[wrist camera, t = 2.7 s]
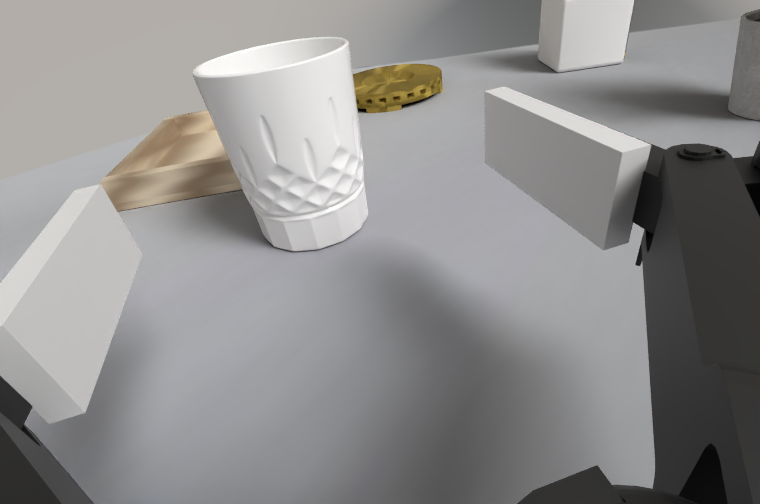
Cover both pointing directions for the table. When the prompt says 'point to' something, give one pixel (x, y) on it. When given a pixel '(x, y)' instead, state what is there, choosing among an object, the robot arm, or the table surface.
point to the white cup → (292, 137)
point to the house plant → (747, 69)
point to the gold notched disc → (395, 86)
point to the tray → (172, 165)
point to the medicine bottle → (584, 33)
